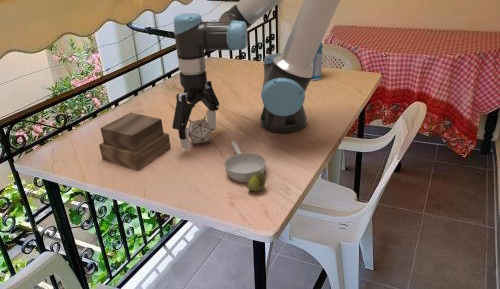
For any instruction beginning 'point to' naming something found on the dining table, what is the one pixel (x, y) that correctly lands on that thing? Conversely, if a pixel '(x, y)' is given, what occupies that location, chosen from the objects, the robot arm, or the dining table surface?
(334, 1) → the robot arm
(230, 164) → the saucepan
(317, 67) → the beverage bottle
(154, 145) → the walnut tower base
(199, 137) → the game die
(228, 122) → the dining table surface
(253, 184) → the lime
